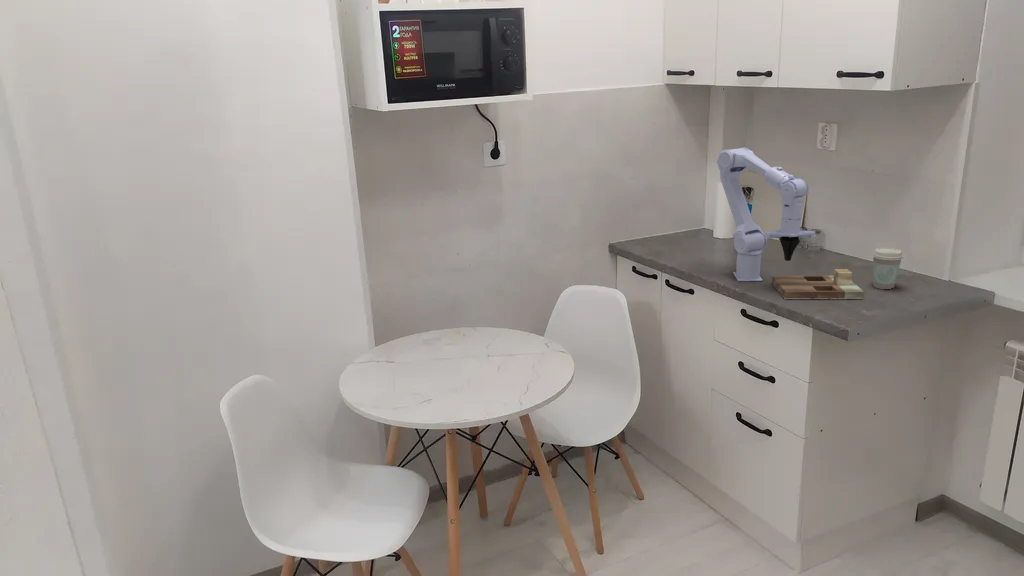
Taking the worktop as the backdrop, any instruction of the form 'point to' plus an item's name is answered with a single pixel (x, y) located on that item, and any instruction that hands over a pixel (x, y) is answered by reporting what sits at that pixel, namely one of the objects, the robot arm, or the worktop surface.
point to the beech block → (842, 277)
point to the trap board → (815, 287)
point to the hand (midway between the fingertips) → (787, 259)
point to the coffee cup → (886, 267)
